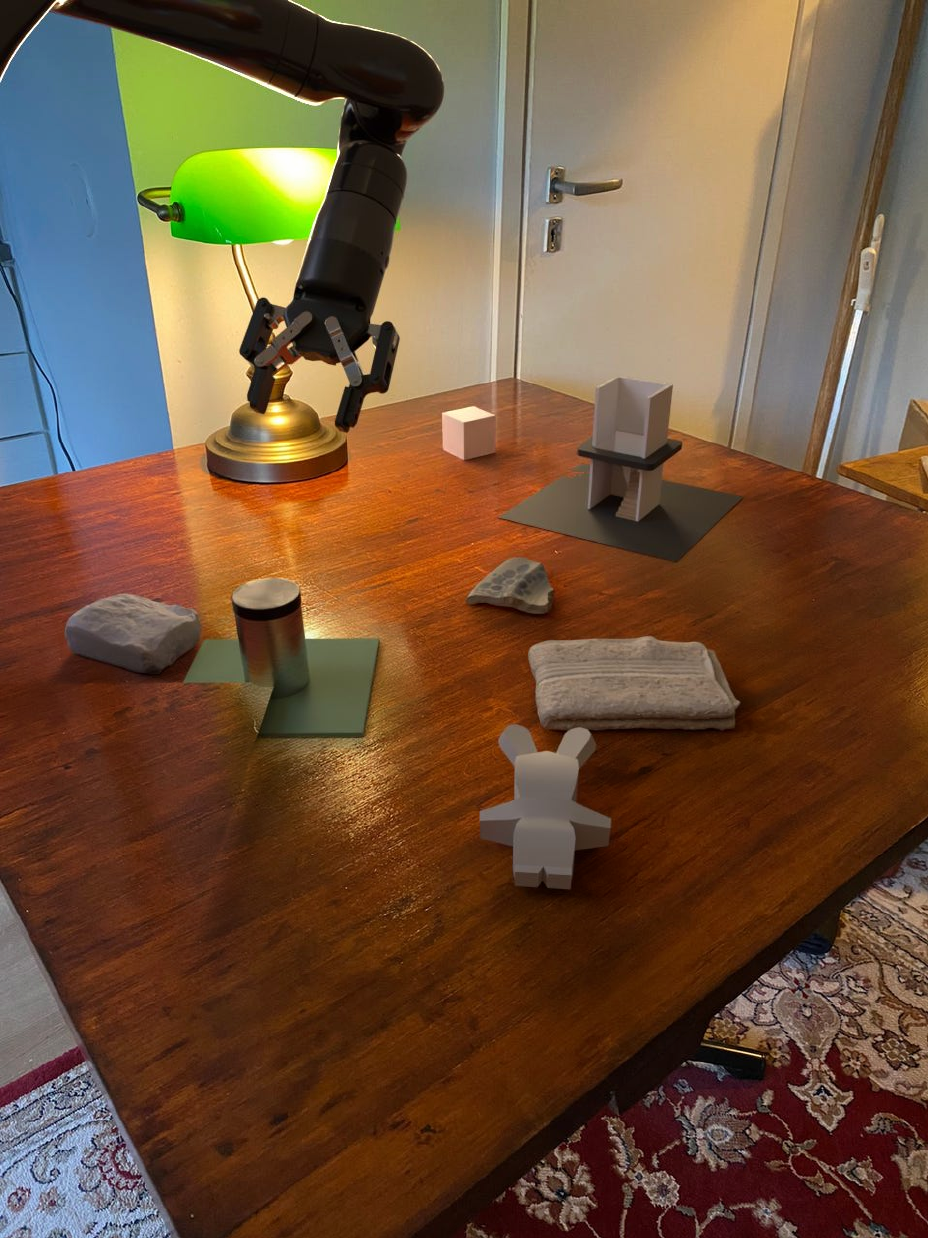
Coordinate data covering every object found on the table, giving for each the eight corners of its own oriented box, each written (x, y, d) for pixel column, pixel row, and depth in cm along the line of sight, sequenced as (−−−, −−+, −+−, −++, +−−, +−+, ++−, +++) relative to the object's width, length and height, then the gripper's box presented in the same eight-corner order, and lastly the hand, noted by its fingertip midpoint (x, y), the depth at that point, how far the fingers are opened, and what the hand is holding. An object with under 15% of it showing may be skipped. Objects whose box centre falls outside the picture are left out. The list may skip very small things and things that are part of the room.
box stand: (497, 517, 120) (498, 394, 112) (581, 463, 138) (588, 354, 130) (676, 561, 108) (691, 428, 100) (743, 496, 126) (761, 378, 118)
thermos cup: (238, 700, 83) (223, 609, 79) (252, 664, 89) (239, 577, 84) (304, 699, 83) (293, 609, 79) (314, 663, 89) (305, 577, 84)
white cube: (464, 460, 140) (463, 422, 137) (442, 449, 144) (441, 412, 141) (495, 452, 143) (495, 415, 140) (473, 442, 147) (473, 405, 144)
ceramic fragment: (543, 613, 94) (460, 580, 98) (538, 637, 96) (457, 604, 100) (584, 571, 102) (506, 542, 106) (579, 594, 104) (503, 565, 108)
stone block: (130, 626, 100) (57, 654, 91) (129, 585, 98) (55, 609, 89) (217, 653, 95) (149, 685, 87) (218, 611, 94) (148, 639, 85)
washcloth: (743, 733, 79) (748, 704, 77) (538, 738, 79) (539, 708, 77) (708, 660, 89) (712, 633, 88) (526, 664, 89) (527, 637, 88)
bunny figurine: (473, 853, 61) (489, 704, 73) (474, 900, 64) (489, 750, 76) (615, 862, 60) (608, 710, 72) (609, 909, 63) (603, 756, 75)
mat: (158, 738, 79) (157, 733, 79) (204, 643, 93) (204, 639, 93) (363, 737, 79) (363, 732, 79) (379, 642, 93) (379, 637, 93)
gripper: (262, 223, 83) (211, 390, 81) (408, 248, 80) (358, 421, 79) (291, 265, 90) (245, 419, 89) (426, 289, 87) (381, 449, 86)
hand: (298, 420), depth 84 cm, fingers open, 8 cm apart
